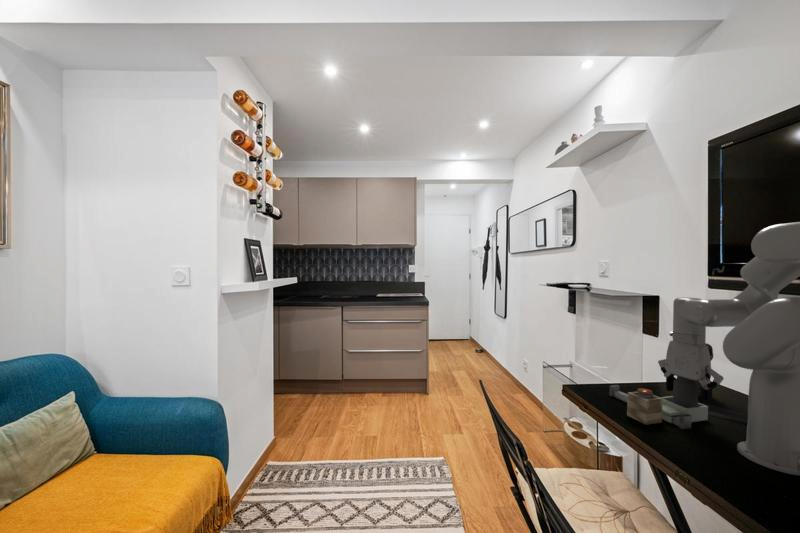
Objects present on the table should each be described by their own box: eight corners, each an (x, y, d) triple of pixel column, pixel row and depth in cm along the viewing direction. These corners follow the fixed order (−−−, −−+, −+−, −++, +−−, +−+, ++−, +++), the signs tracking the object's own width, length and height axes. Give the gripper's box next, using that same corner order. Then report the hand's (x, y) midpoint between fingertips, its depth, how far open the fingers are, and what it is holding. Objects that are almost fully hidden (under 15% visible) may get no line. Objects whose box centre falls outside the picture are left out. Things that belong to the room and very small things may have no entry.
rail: (691, 427, 97) (691, 415, 97) (683, 429, 96) (683, 416, 96) (616, 394, 120) (617, 384, 120) (609, 395, 119) (609, 385, 119)
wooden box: (661, 422, 100) (662, 398, 100) (645, 424, 98) (646, 400, 98) (642, 413, 106) (643, 390, 106) (626, 415, 104) (627, 392, 104)
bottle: (687, 413, 107) (689, 365, 106) (702, 422, 101) (704, 371, 100) (667, 412, 107) (669, 364, 107) (680, 420, 101) (683, 370, 101)
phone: (767, 427, 97) (697, 409, 108) (766, 431, 97) (697, 412, 108) (767, 418, 102) (700, 402, 113) (767, 422, 102) (700, 405, 113)
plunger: (655, 409, 101) (656, 392, 101) (645, 410, 100) (646, 393, 100) (643, 404, 104) (643, 387, 104) (633, 405, 103) (634, 388, 103)
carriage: (707, 419, 102) (708, 406, 102) (674, 424, 98) (675, 410, 98) (677, 407, 110) (678, 395, 110) (646, 411, 106) (646, 399, 106)
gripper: (651, 333, 110) (650, 387, 110) (713, 346, 94) (711, 409, 94) (668, 333, 112) (667, 385, 112) (732, 344, 96) (731, 406, 96)
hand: (687, 396), depth 103 cm, fingers open, 9 cm apart
